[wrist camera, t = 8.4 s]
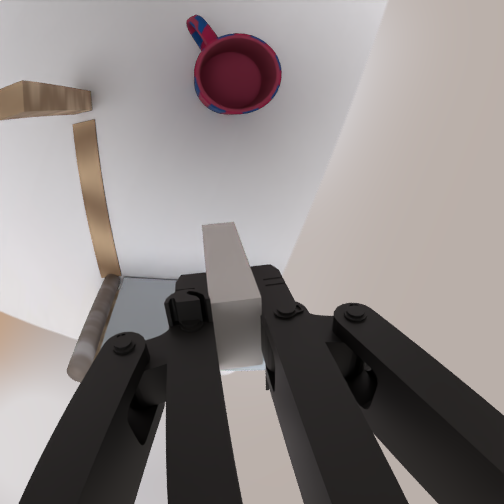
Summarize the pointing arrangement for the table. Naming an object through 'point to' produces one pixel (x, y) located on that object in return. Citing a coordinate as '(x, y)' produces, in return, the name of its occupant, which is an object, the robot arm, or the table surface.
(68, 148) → the table surface
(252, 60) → the mug
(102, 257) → the doorframe
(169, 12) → the table surface
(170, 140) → the table surface
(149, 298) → the door
